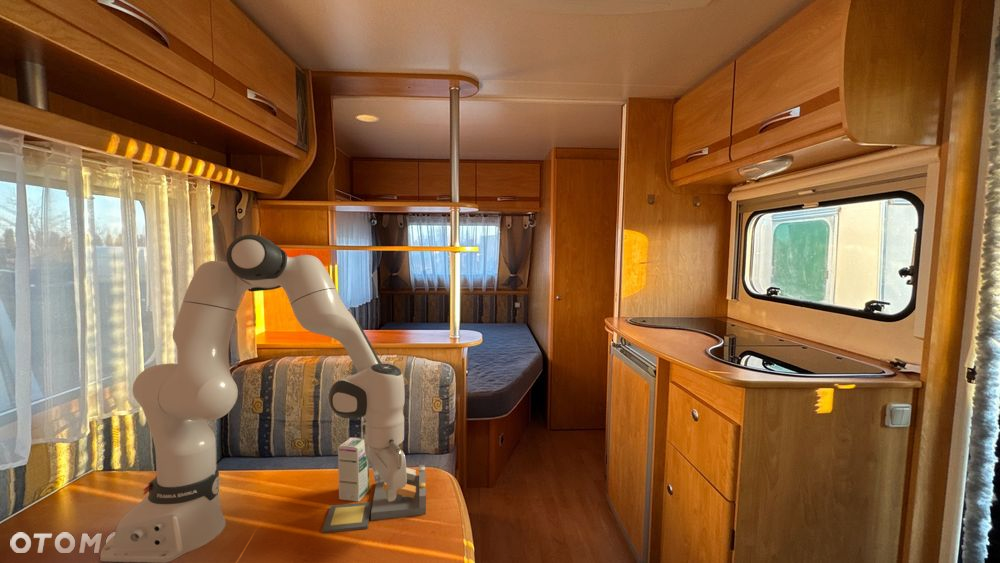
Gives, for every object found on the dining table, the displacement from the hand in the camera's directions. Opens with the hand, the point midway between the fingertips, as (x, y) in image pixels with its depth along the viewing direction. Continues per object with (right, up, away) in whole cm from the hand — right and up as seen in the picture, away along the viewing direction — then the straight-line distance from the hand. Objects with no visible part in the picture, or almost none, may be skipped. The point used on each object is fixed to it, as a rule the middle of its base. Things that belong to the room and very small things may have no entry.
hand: (384, 490), depth 104 cm
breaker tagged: (+2, -2, +6) cm, 7 cm away
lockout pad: (-9, -7, +2) cm, 12 cm away
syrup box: (-11, -7, +11) cm, 17 cm away
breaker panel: (+2, -7, +10) cm, 12 cm away
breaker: (+1, -2, +14) cm, 14 cm away
